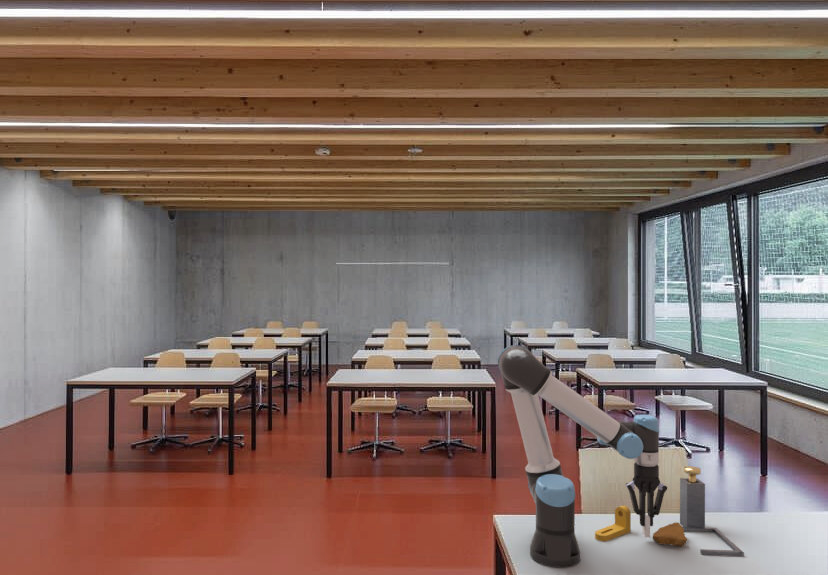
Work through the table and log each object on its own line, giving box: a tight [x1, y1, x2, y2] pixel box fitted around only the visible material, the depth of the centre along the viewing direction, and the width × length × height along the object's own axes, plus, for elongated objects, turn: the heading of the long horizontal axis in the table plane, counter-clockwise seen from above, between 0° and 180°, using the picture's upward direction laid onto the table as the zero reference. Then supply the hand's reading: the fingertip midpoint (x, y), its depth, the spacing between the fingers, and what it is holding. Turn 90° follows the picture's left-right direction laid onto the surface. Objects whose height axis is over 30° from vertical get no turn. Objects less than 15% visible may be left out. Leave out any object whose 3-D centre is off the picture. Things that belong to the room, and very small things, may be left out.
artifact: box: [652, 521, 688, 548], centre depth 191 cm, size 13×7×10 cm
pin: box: [683, 465, 702, 483], centre depth 203 cm, size 5×5×8 cm
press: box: [679, 477, 745, 557], centre depth 193 cm, size 13×25×16 cm, turn 177°
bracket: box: [594, 504, 632, 542], centre depth 196 cm, size 15×4×8 cm, turn 126°
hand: (646, 535), depth 190 cm, fingers closed
